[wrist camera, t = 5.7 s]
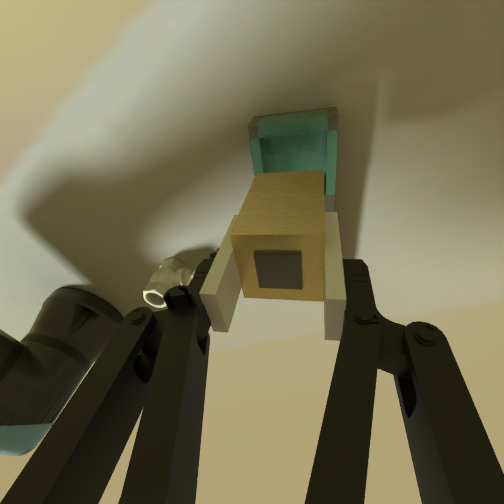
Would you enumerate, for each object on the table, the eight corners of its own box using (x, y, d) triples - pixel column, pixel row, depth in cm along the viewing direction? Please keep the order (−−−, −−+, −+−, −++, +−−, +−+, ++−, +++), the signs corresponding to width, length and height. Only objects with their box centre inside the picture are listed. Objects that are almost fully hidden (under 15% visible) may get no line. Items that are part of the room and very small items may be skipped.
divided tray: (275, 282, 39) (273, 299, 37) (253, 117, 26) (247, 125, 23) (329, 284, 37) (330, 301, 35) (336, 107, 24) (338, 115, 21)
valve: (174, 283, 43) (242, 273, 39) (156, 316, 38) (231, 308, 34) (152, 251, 40) (224, 236, 35) (128, 284, 35) (209, 270, 30)
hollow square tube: (263, 227, 22) (243, 300, 16) (256, 173, 19) (228, 237, 13) (322, 227, 21) (323, 304, 15) (323, 169, 18) (325, 236, 12)
